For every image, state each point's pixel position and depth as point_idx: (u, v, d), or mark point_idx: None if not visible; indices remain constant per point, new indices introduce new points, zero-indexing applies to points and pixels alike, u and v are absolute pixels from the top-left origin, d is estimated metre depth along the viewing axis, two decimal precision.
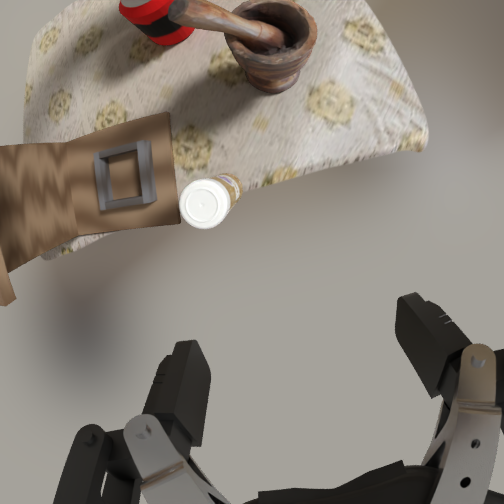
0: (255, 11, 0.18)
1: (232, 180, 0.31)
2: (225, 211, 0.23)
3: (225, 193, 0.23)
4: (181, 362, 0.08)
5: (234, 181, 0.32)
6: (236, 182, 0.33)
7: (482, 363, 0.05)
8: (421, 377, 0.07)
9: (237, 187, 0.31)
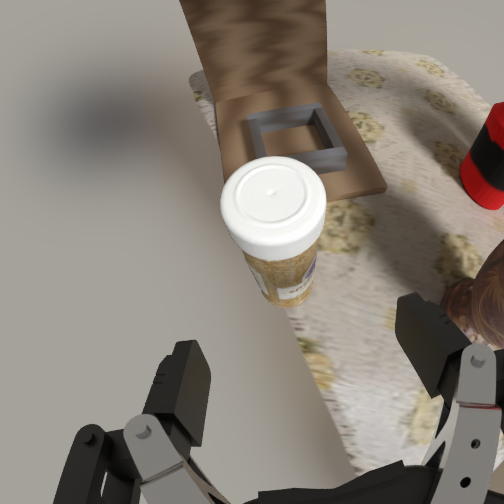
0: None
1: (308, 283, 0.18)
2: (262, 241, 0.10)
3: (302, 239, 0.10)
4: (181, 362, 0.08)
5: (306, 287, 0.19)
6: (303, 293, 0.20)
7: (482, 363, 0.05)
8: (421, 377, 0.07)
9: (297, 293, 0.18)
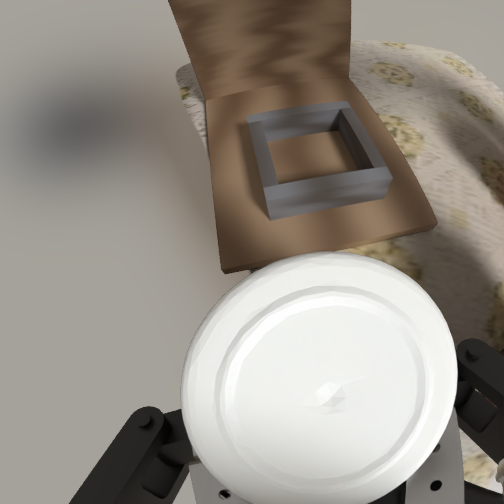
0: None
1: None
2: None
3: None
4: None
5: None
6: None
7: None
8: None
9: None
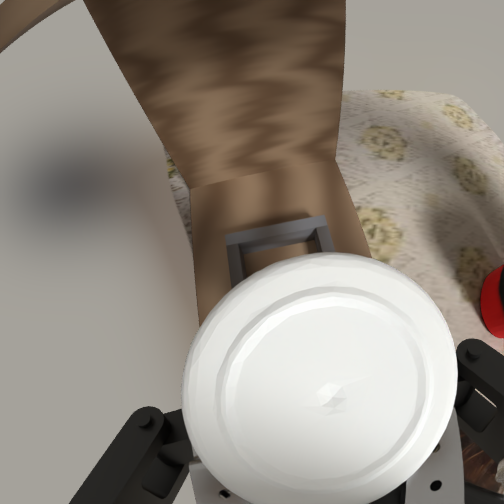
0: None
1: None
2: None
3: None
4: None
5: None
6: None
7: None
8: None
9: None
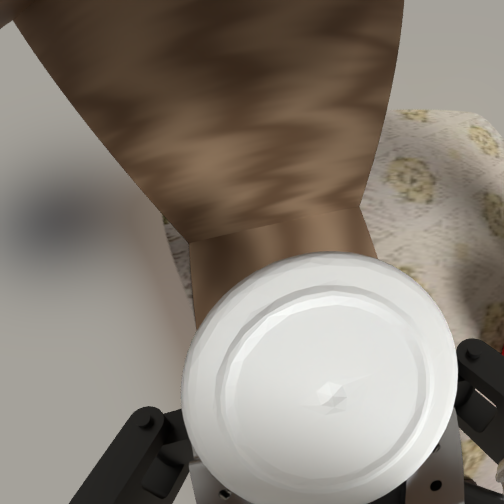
0: None
1: None
2: None
3: None
4: None
5: None
6: None
7: None
8: None
9: None
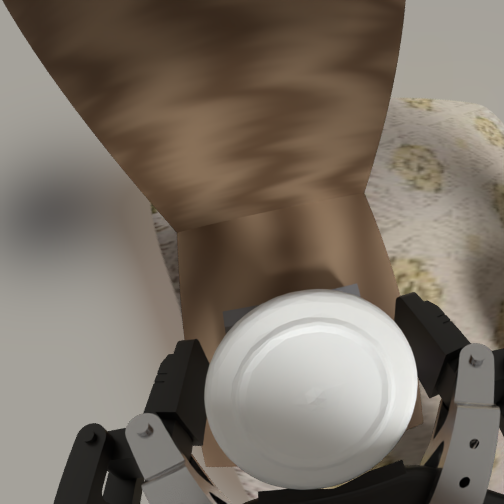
0: None
1: None
2: (289, 488, 0.04)
3: None
4: (183, 361, 0.08)
5: None
6: None
7: (480, 363, 0.05)
8: (419, 377, 0.07)
9: None
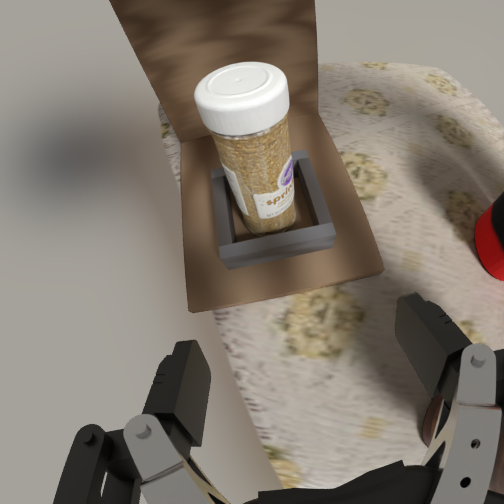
0: None
1: (287, 198, 0.18)
2: (226, 107, 0.10)
3: (264, 107, 0.10)
4: (181, 362, 0.08)
5: (286, 205, 0.19)
6: (284, 215, 0.20)
7: (482, 363, 0.05)
8: (421, 377, 0.07)
9: (276, 208, 0.18)
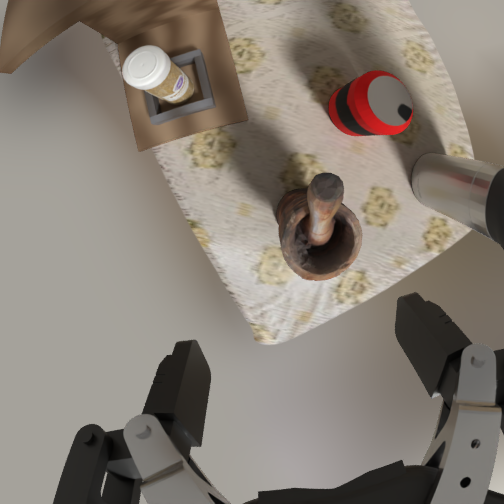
0: (345, 222, 0.27)
1: (182, 91, 0.27)
2: (138, 85, 0.19)
3: (155, 81, 0.20)
4: (181, 362, 0.08)
5: (182, 93, 0.28)
6: (183, 96, 0.29)
7: (482, 363, 0.05)
8: (421, 377, 0.07)
9: (176, 97, 0.28)
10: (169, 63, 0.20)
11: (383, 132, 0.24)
